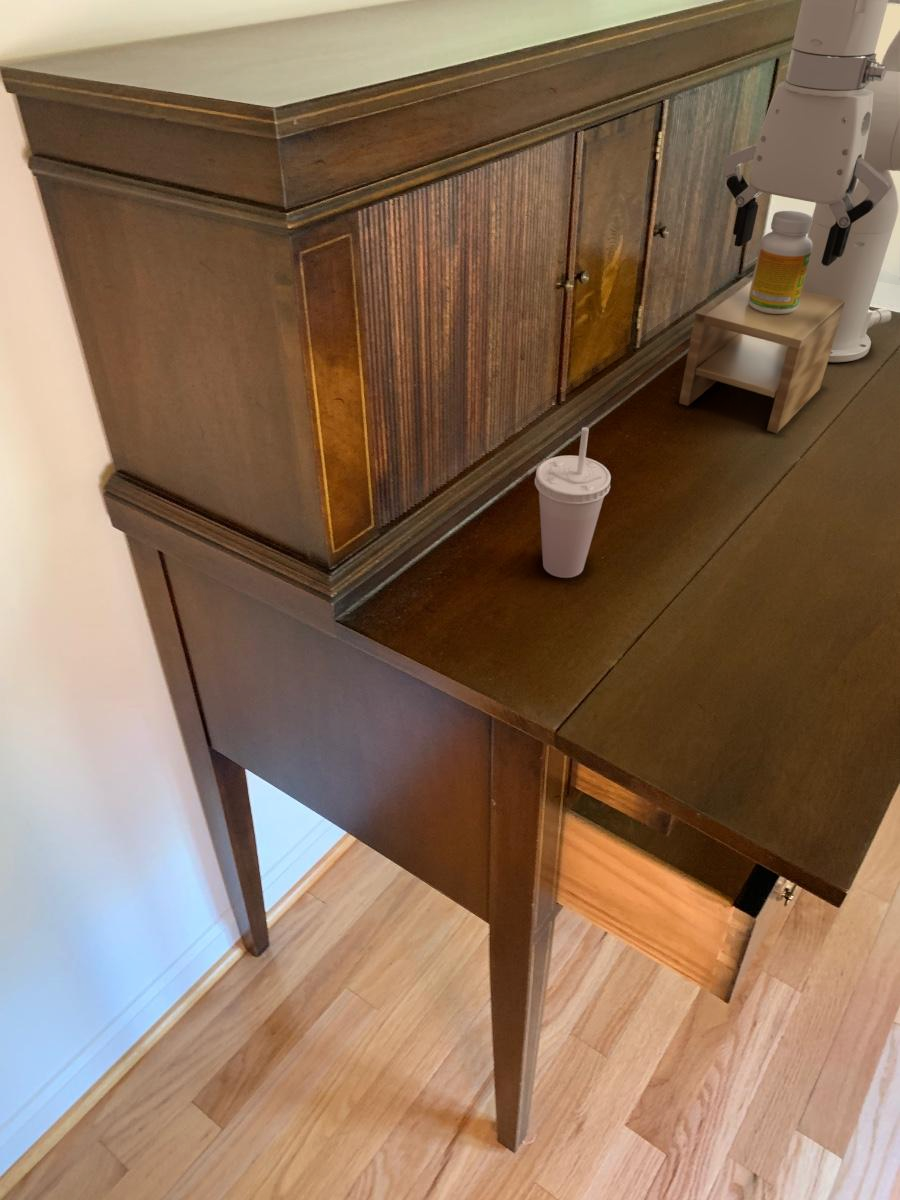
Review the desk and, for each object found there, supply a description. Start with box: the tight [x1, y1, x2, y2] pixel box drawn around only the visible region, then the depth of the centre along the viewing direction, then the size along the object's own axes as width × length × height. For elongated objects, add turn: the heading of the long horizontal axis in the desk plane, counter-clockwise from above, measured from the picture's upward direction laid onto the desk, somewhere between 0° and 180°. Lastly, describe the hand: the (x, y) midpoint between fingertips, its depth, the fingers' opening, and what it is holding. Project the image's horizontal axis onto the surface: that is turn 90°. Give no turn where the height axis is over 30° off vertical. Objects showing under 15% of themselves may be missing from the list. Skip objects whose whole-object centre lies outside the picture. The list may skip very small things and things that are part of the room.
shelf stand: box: [678, 276, 845, 434], centre depth 106 cm, size 14×12×11 cm
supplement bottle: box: [748, 210, 813, 314], centre depth 100 cm, size 5×5×10 cm
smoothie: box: [534, 426, 612, 579], centre depth 79 cm, size 6×6×14 cm
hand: (784, 252), depth 99 cm, fingers open, 9 cm apart
